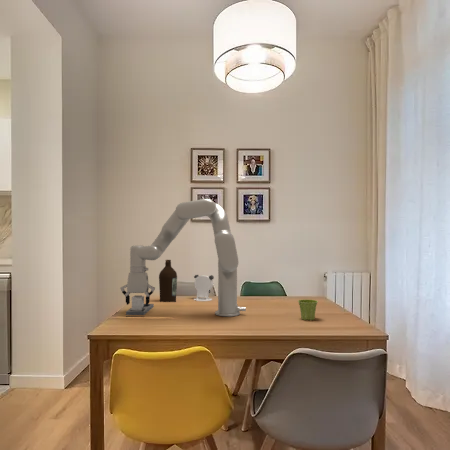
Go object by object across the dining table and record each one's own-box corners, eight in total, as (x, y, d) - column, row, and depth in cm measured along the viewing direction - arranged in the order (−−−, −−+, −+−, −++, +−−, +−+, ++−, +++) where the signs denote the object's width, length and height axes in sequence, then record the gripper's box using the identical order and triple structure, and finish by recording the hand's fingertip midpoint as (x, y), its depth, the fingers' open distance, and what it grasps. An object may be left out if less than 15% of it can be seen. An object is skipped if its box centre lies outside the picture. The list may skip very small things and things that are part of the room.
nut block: (143, 311, 207) (144, 295, 207) (141, 313, 202) (141, 296, 202) (134, 311, 207) (134, 295, 207) (131, 313, 202) (131, 296, 202)
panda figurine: (215, 298, 254) (215, 274, 254) (210, 301, 243) (210, 276, 243) (196, 297, 257) (196, 273, 257) (191, 300, 246) (191, 275, 246)
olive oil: (156, 303, 236) (156, 260, 236) (162, 300, 246) (162, 259, 247) (173, 304, 234) (174, 260, 234) (179, 301, 244) (179, 259, 245)
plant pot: (306, 322, 190) (306, 303, 190) (294, 318, 198) (294, 300, 198) (322, 320, 194) (321, 301, 194) (309, 316, 203) (309, 298, 203)
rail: (153, 308, 221) (153, 303, 221) (144, 317, 199) (144, 311, 199) (137, 308, 221) (137, 303, 222) (125, 316, 199) (125, 311, 200)
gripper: (156, 269, 208) (156, 303, 208) (122, 269, 209) (122, 302, 208) (153, 270, 201) (153, 305, 200) (118, 270, 201) (118, 305, 201)
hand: (137, 304), depth 204 cm, fingers open, 9 cm apart
